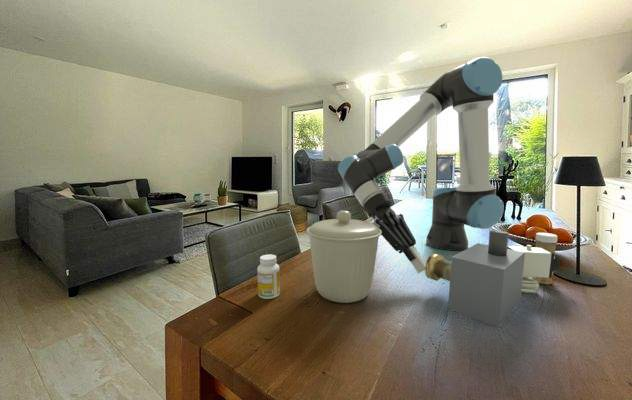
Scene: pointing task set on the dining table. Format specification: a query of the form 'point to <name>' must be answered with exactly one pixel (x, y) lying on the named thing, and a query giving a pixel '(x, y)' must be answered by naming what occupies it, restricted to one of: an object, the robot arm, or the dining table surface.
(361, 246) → the canister
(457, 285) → the block
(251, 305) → the dining table surface
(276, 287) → the supplement bottle
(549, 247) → the sprinkles bottle
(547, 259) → the pneumatic valve
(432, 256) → the knob
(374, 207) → the robot arm
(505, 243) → the grey upright block
